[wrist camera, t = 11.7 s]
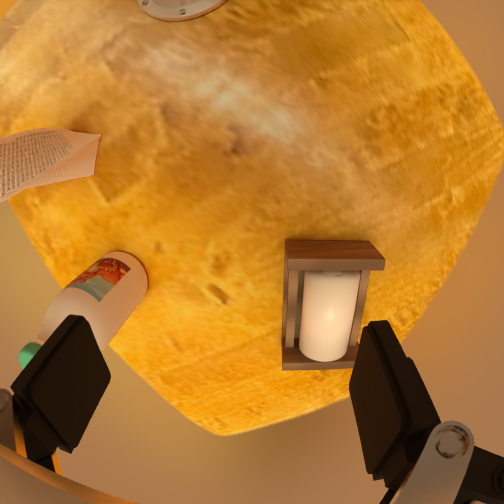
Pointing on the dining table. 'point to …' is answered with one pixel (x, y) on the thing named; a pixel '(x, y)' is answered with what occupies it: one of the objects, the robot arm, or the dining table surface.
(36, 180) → the skyscraper
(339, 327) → the roll
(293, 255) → the cradle
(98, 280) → the milk bottle
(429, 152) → the dining table surface
